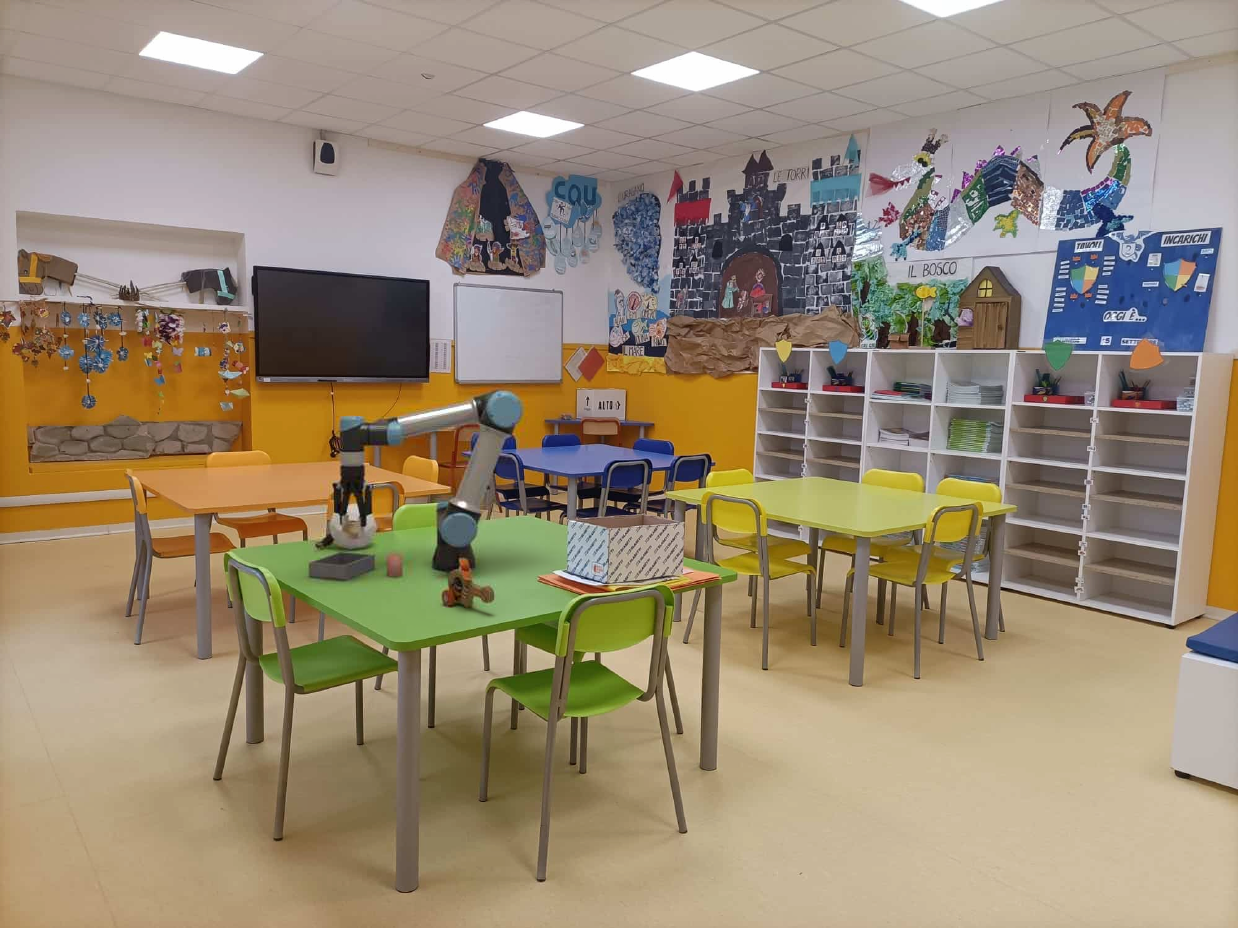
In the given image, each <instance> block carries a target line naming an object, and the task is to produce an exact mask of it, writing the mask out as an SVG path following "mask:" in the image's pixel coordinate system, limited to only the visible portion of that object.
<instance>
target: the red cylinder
mask: <svg viewBox="0 0 1238 928" xmlns="http://www.w3.org/2000/svg"><path fill="white" fill-rule="evenodd" d="M386 577H387V578H389V577H390V579H397V577H398V578H401V577H403V554H401V553H389V554H387V555H386Z"/></svg>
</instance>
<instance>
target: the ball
mask: <svg viewBox="0 0 1238 928" xmlns="http://www.w3.org/2000/svg"><path fill="white" fill-rule="evenodd" d="M346 515H349V521H350V520H354V521H358V517H359V516H360V514H359V510H358V506H357V503H351V504H350V503H349V504H348V508H347V514H346ZM366 524H367V525H366V526H365V527H364V537H361V538H358V539H346V538H342V525H340V515H339V514H337V513H334V512H333V514H332V516H331V519H330V521H329V523H328V528H329V530H330V533H327V534H326V537H324V538H323V539H322V540H321V541H316V542H315V545H314V546H315V547H316V548H317V549H320V548H321V547H324V548H326V547H328V546H331V544H335V543H336V544H337V546H338V547H342V548H345V549H347V550H351V551H352V550H356V549H361V548H364V547H366V546H367V545H368V544H369V543H370V542H372V541H373V539H374V536H375V533H376V531H377V529H378V526H377V523H376V520H375V516H374V514H373V513H372V514H371V515H368V516H367V517H366Z"/></svg>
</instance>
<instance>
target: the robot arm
mask: <svg viewBox="0 0 1238 928" xmlns="http://www.w3.org/2000/svg"><path fill="white" fill-rule="evenodd" d="M523 410H524V408H523V404H522V402H521V400H520V398H519V397H518V396H517V395H516V394H515V393H513V392H511V391H508V390H502V389H496V390H493V391H492V390H491V391H490V392H487V393H484V394H481V395H477V396H473V397H471V398H470V399H469V400H468V401H464V402H463V401H462V402H459V403H454V404H449V405H445V406H439V407H436V408H432V409H426V410H423V411H417V412H413V413H407V414H403V415H398V416H394V417H389V418H381V419H377V420H376V421H375V422H368V421H367V422H366V421H365V417H364V416H360V415H358V416H357V415H346V416H342V417H340V419H339V463H340V464H341V465H340V467H339V469H340V470H339V471H340V473H339V474H340V480H339V481H337V482H333V483H332V489H333V514H334V513H337V514H339V515H340V525H342V523H343V522H346V521H349V515H346V514H347V508H348V505H350V499H351V495H352V494H353V496H354V498H355V501H356V504H357V506H358V510H359V514H360V516H359V517H358V537H363V536H364V527H365V526H366V525H367V524H366V517H367V516H368V515H371V514H373V496H372V495H373V489H374V485H373V484H369V483H367V482H366V480H365V475H366V471H365V470H366V469H365V465H364V464H365V463H366V462H365V446H367V447H371V446H373V447H380V446H381V447H394V446H402V444H403V441H404V440H403V439H405V438H409V437H414V436H419V435H423V434H426V433H427V434H428V433H432V432H437V431H443V430H446V429H450V428H451V429H452V428H454V427H459V426H464V425H469V424H476V425H477V426H479V428H480V431H479V435H478V437H477V440H476V442H475V445H474V448H473V450H472V453H471V455H470V458H469V461H468V464H467V466H466V468H465V471H464V474H463V476H462V479H461V482H460V484H459V487H458V490H457V492H456V494H455V497H454V498H451V499H449V501H440V502H438V503H436V509H435V512H436V547H435V550H434V553H433V556H432V558H431V568H432V569H434V570H437V571H443V572H444V571H445V572H451V571H453V570H456V569H459V567H460V563H459V558H466V559H467V560H468V563H469V567H470V569H471V570H472V569H473V568H475V567H476V565H477V563H476V561H477V560H476V556H475V553H474V551H473V550H474V549H473V548H472V544H471V543H473V542H474V540H475V538H476V537H477V534H478V531H479V529H478V525H479V522H480V520H481V516H482V514H483V510H482V508H481V504H482V501H483V499H484V497H485V493H486V491H487V488H488V486H489V483H490V481H491V479H492V475H493V472H494V470H495V467H496V465H497V462H498V460H499V457H500V454H501V452H502V449H503V447H504V444H505V441H506V440H507V439H508V438H510V437H512V436H513V433H514V430H515V428H516V425H517V424H518V423H519V422H520V420H521V418H522V417H523V412H524V411H523ZM342 489H343V490H342ZM363 490H364V492H363Z"/></svg>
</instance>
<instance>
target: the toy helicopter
mask: <svg viewBox="0 0 1238 928" xmlns="http://www.w3.org/2000/svg"><path fill="white" fill-rule="evenodd" d="M459 563H460V567H459V569H456V570H453V571H449V573H448V575H447V585H448V586H447V587H448V589H445V590H443V591H442V593H441V600H442V603H443V604H444V605H445V606H446V607H450V606H453V605H454V604H455V603H456V602H457V603H458V604H461V605H464V607H465V608H467V609H468V608H472V607H473V605H474V599H475V598H478V599H480V600H481V601H482V603H484V604H489V603H493V601H494V600H495V591H494V588H492V587H491V586H490V585H485V586H481V585H479V584H477V583H475V582H474V581H473V580H472V579H473V576H472V568H471V569H470V567H469V563H468V560H467V559H466V558H459Z"/></svg>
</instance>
